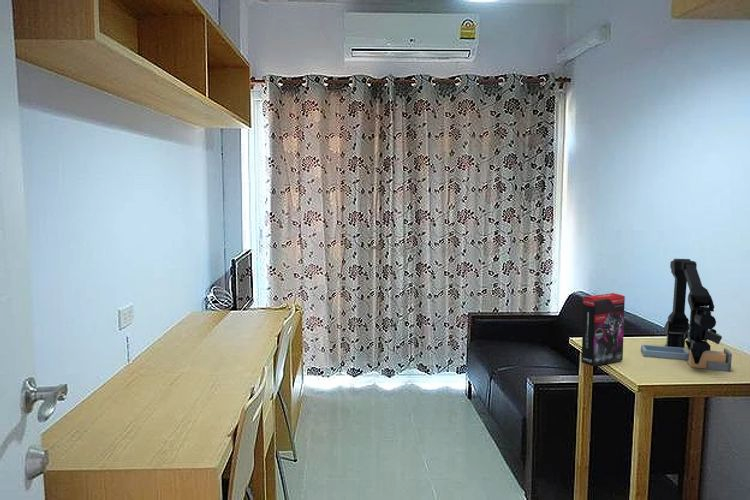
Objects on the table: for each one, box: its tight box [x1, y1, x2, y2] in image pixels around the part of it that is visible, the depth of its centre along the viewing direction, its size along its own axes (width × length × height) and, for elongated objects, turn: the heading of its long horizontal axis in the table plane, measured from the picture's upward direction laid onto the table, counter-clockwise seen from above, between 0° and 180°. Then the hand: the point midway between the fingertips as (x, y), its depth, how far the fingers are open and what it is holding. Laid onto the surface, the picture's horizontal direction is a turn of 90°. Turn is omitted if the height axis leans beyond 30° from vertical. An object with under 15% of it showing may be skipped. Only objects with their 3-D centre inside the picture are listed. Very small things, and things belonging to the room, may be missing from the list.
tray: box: [640, 344, 689, 361], centre depth 254 cm, size 17×10×2 cm, turn 73°
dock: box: [706, 347, 733, 373], centre depth 237 cm, size 8×8×7 cm
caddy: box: [687, 349, 726, 369], centre depth 238 cm, size 12×5×6 cm, turn 72°
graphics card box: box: [581, 292, 626, 367], centre depth 242 cm, size 17×7×27 cm, turn 117°
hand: (695, 361), depth 240 cm, fingers closed on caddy, 5 cm apart
